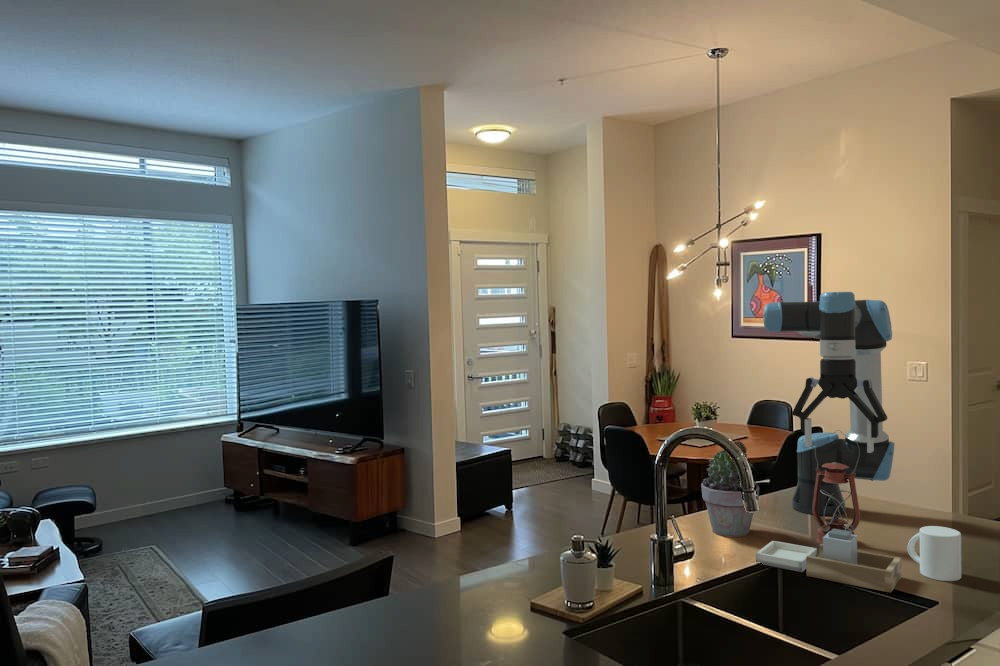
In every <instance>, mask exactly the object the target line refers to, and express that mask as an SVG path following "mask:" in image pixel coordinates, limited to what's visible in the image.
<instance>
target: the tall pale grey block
mask: <svg viewBox="0 0 1000 666" xmlns="http://www.w3.org/2000/svg"><path fill="white" fill-rule="evenodd" d="M857 550H858V535H857V534H855V535H852V534H851V531H846V530H839V529H832V530H831V531H829V532H828V533H827V534H826V535H825V536H824V537H823V558H825V559H830V560H836V561H841V562H846V563H852V564H857Z"/></svg>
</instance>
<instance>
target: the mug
mask: <svg viewBox="0 0 1000 666" xmlns="http://www.w3.org/2000/svg"><path fill="white" fill-rule="evenodd" d="M917 541H919V554H918V553H917V552H916V550H915V545H916V543H917ZM906 547H907V548H906V550H907V553H908V555H909V556H910V558H911V559H912V560H913V561H914V562H916V563H918V564H919V573H920V574H921V575H922V576H924V577H926V578H928V579H930V580H931V579H932V580H935V581H936V580H937V581H942V582H957V581H959V580H960V579H962V533H961V532H960V531H958V530H957V529H954V528H950V527H945V526H939V525H927V526H926V525H925V526H922V527H920V528H919V532H917V533H916V534H915V535H913V536H912V537H911V538H910V540H909V541H908V543H907V546H906Z"/></svg>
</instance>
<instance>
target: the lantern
mask: <svg viewBox="0 0 1000 666" xmlns="http://www.w3.org/2000/svg"><path fill="white" fill-rule="evenodd" d="M839 431H840V433H841V434H842V435H843V436H844V437H845V436H847V435H845V434H844V433H843V432H842V431H841V430H840V429H838V430H836V431H835V432H828V433H829V434H832V433H836V432H839ZM824 435H826V434H824ZM820 436H822V435H820ZM818 437H819V436H818ZM818 437H817V438H818ZM848 437H849V436H848ZM817 438H816V440H817ZM850 438H852V437H850ZM852 439H853V438H852ZM854 440H855V439H854ZM855 441H856V440H855ZM856 443H857V442H856ZM857 445H858V443H857ZM858 448H859V446H858ZM859 455H860V450H859ZM815 457H816V442H815ZM816 460H817V459H816ZM858 460H859V457H858ZM817 463H818V461H817ZM857 463H858V461H857ZM817 465H818V464H817ZM856 466H857V464H856ZM817 467H818V466H817ZM822 467H827V469H826V470H825V471H821V470H820V469H819V468H816V472H817V475H816V483H815V491H814V498H813V506H812V511H813V514H812V515H813V517H814V520H815V521H816V523H817V524H818V525H819V526H820V527H818V529H817V538H816V541H817V543H820V544H823V537H824V536H825V535H826V534H827V533H828V532H829V531H831V530H832V529H839V530H846V531H851V534H852V535H856V534H855V530H856V529H857V527H858V526H859V524H860V521H861V513H860V506H859V505H860V504H859V501H858V500H859V498H858V493H857V487H856V479H854V477H855V475H856V473H855V472H854V471H855V470H856V467H855V469H854V471H853V472H852V473H851V474H846V471H844V469H845V468H849V466H846V465H844V464H840V463H837V462H834V463H826V464H823V465H822ZM817 469H819V470H817ZM853 473H854V475H853ZM822 476H824V478H823V480H822V481H824V482H827V483H834V484H839V485H841V484H849V488H850V491H848V490H844V489H843V490H841V491H837V492H841V493H842V492H845V493H849V495H848V496H847V497H846V498H845V499H844V501H843V502H845V503H846V501H847V500H848V499H850V497H851V501H852V507H853V519H852V522H851V523H850V524H849V519H848V515H847V512H846V509H845V510H844V508H843V506H842V505H841V504H842V503H843V502H842V503H840V502H839V501H838V500H837V499H836V498H834V497H832V495H834V494H835V493H837V492H835V493H833V494H832V495H830V494H829V493H827V492H826V491H824V490H822V489H821V490H822V491H824V492H826V493H827V494H828V495H827V494H825V493H823V492H822V491H821V490H820V487H821V479H822ZM820 491H821V493H823V494H824V495H827V496H829V497H830V498H831V497H832V499H833V498H834V499H835V500H836V501H838V502H839V503H840V505H841V506H842V508H843V510H844V514H845V517H846V520H847V521H846V520H845V519H843V517H842V515H841V514H842V513H841V514H835V513H836V511H837V509H838V511H839V506H840V505H839V506H837V504H836V506H837V509H836V511H835V513H834V514H833V515H832V518H831V517H830V518H825V516H826V515H825V510H824V515H823V519H822V517H821V515H819V513H818V502H819V494H820ZM830 498H829V500H830ZM834 499H833V500H834ZM829 500H828V501H829ZM835 500H834V502H835ZM835 503H836V502H835ZM827 504H828V502H827ZM827 504H826V506H827ZM825 509H826V507H825ZM839 513H840V511H839ZM840 518H841V519H840ZM823 520H824V521H823Z"/></svg>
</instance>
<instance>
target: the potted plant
mask: <svg viewBox="0 0 1000 666" xmlns="http://www.w3.org/2000/svg"><path fill="white" fill-rule="evenodd" d="M733 442H734V443H735V444H736V445H737V446H738V447H739V448H740V449H741V451H742V452H743V454H744V455H745V457H746V458H748V457H747V456H748V454H747V447H746V446H745V444H744V443H743V442H742V441H740V440H734V441H732V443H733ZM709 456H712V458H711V459H708V462H709V464H708V465H705V467H706V466H708V468H706V472H707V474H708V477H707V478H704V479H703V480H702V482H701V484H700V486H699V487H698V488H697V489H699V488H700V487H701V494H702V495H701V496H702V499H703V501H704V502H705V505H706V509H707V514H708V518H709V522H710V525H711V529H712V533H714V534H716V535H718V536H722V537H727V538H739V537H738V536H741V537H745V536H748V535H749V533H750V529H751V524H752V520H753V516H754V512H753V513H749V512H746V511H745V508H744V504H743V499H742V494H741V488H740V482H739V479H738V475H737V471H736V468H735V466H734V463H733V461H732V459H731V458H730V456H729V455H728V453H727V452H726V451H725V450H724V448H723V449H722V450H720V451H717V452H716V454H709ZM748 463H749V465H750V467H751V468H753V469H754V470H756V468H755V467H754V466H753V465H754V463H751V462H750V461H748ZM754 483H755V485H756V491H757V495H758V499H759V497H760V487H759V485H758V484H759V483H756V482H754ZM747 534H748V535H747ZM744 535H745V536H744Z"/></svg>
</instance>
